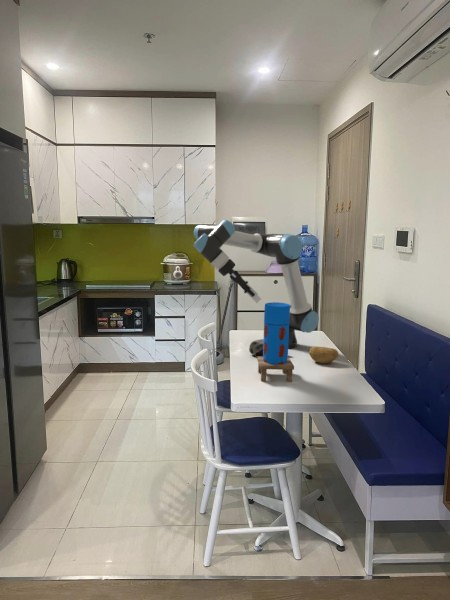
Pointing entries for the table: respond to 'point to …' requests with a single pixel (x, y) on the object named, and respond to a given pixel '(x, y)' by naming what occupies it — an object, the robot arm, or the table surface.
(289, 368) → the small wooden stool
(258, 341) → the rock
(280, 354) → the thermos
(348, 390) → the table surface
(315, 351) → the potato
